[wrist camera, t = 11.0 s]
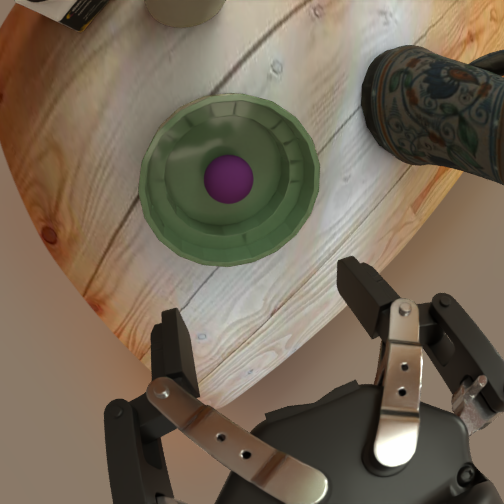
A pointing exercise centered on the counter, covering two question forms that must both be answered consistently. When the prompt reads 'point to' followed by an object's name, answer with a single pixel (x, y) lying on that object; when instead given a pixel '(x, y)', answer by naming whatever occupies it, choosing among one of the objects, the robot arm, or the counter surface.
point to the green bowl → (237, 214)
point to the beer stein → (438, 109)
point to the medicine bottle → (67, 11)
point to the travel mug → (183, 11)
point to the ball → (228, 179)
